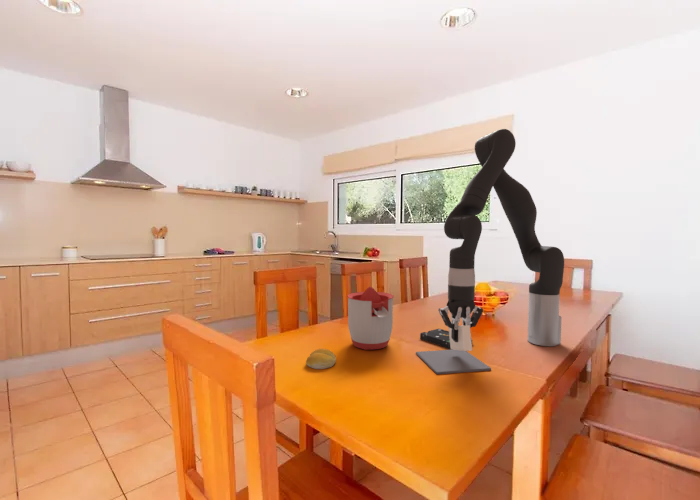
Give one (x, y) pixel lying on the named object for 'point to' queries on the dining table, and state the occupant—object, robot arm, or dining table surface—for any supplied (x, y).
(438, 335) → the disk drive
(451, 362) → the mat
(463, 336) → the block
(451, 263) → the robot arm
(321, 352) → the bread roll
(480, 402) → the dining table surface
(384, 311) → the citrus juicer
